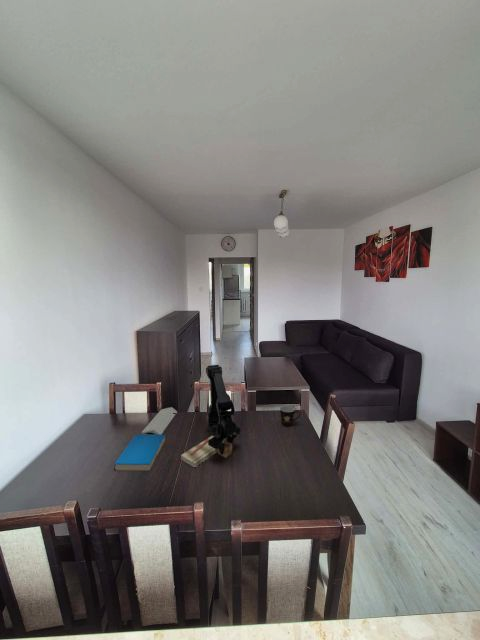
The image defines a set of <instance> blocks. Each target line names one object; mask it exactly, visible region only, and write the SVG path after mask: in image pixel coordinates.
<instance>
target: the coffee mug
mask: <svg viewBox="0 0 480 640" xmlns="http://www.w3.org/2000/svg"><path fill="white" fill-rule="evenodd" d="M279 411H280V412H279V413H280V420H281V421H280V422H281V425H282V426H283V427H286V428H290V427H292V426H293V422H294V421H296V420H297V419H299V418H300V417H301V412H300V411H298V410H296V411H295V408H294V406H291V405H282V406H280V408H279ZM296 413H298V414H299V416H297V417H295V418H294V416H295V414H296Z"/></svg>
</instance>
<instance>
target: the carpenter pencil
mask: <svg viewBox="0 0 480 640" xmlns="http://www.w3.org/2000/svg"><path fill="white" fill-rule="evenodd" d="M205 440H206V439H205ZM206 443H208V440H206V441H205V442H204V443H203V444H202V445H200V446H199V447H198V448H197V449H195V450H194V451H193V452H192V453H190V455H193V454H194V453H196V452H197V451H198V450H199V449H200V448H202V447H203V446H204V445H205V444H206Z"/></svg>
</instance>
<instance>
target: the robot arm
mask: <svg viewBox="0 0 480 640" xmlns="http://www.w3.org/2000/svg"><path fill="white" fill-rule="evenodd" d="M205 374H206V376H207V377H208V379H209V388H210V389H209V390H210V391H209V392H210V393H209V394H210V395H209V397H210V404H209V406H208V409H207V413H206V415H205V418H206V421H207V424H208V428H207V429H206V431H208V433H209V434H211V435H212V434H214V435H215V434H216V435H217V436H218V437H216V436H214V437H213V438H211V439H210V440H208V445H209V446H211V447H213V448H215V449H219V451H220V453H221V454H222V455H223V452H224V447H225V444H224V443H223V441H225V440H226V441H227V442H229V443H231V444H232V445H233V443H234V441H235V440H236V438H237V437H238V435H239V434H241V428H240V427H239V426H237V425H236V423H235V420H234V419H233V417H232V416H235V411H236V410H235V406H234V402H233V400H232V399H231V396H230V395H229V394H228V393H227V390H226V386H225V382H224V379H223V367H222V366H220V365H219V364H211V365H207V367H205Z"/></svg>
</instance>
